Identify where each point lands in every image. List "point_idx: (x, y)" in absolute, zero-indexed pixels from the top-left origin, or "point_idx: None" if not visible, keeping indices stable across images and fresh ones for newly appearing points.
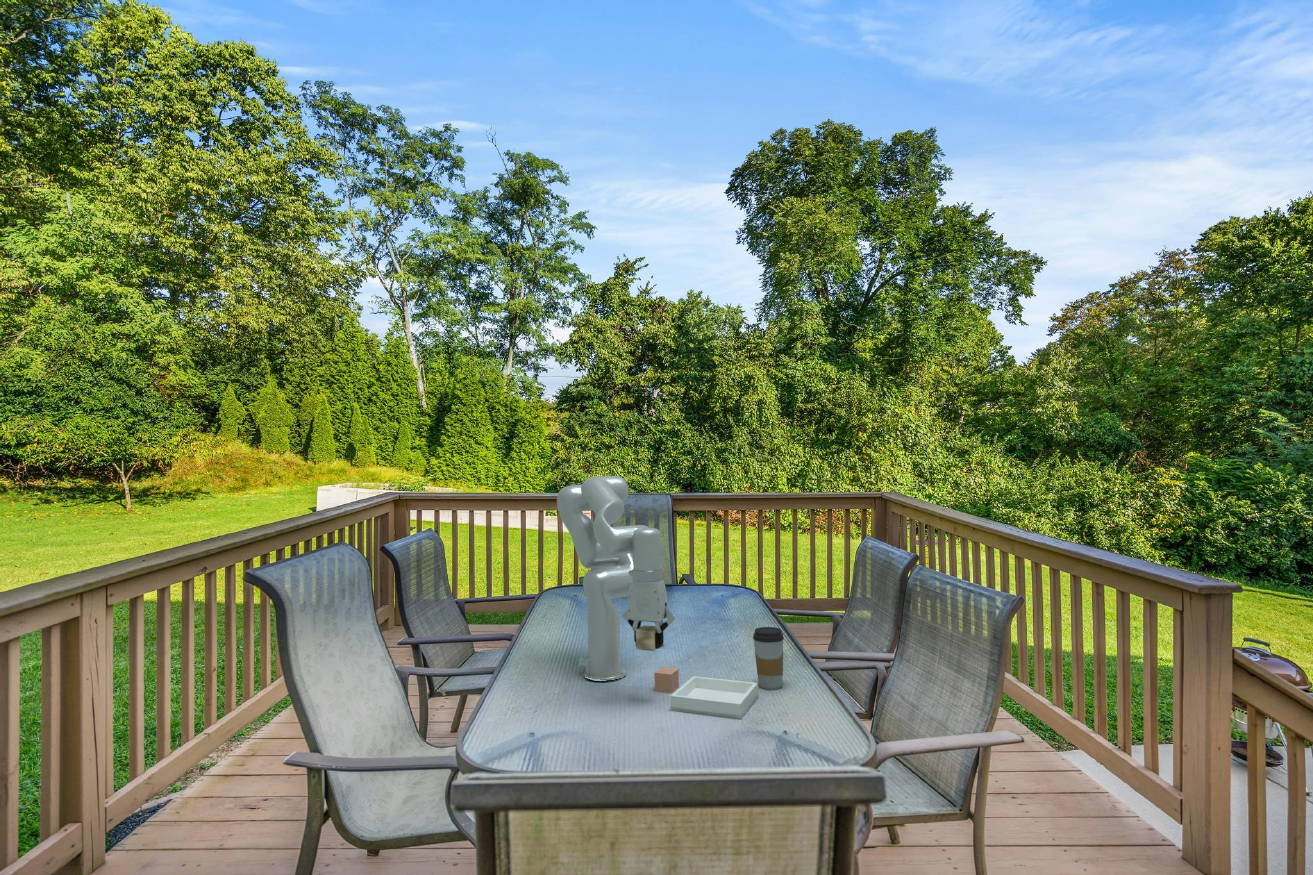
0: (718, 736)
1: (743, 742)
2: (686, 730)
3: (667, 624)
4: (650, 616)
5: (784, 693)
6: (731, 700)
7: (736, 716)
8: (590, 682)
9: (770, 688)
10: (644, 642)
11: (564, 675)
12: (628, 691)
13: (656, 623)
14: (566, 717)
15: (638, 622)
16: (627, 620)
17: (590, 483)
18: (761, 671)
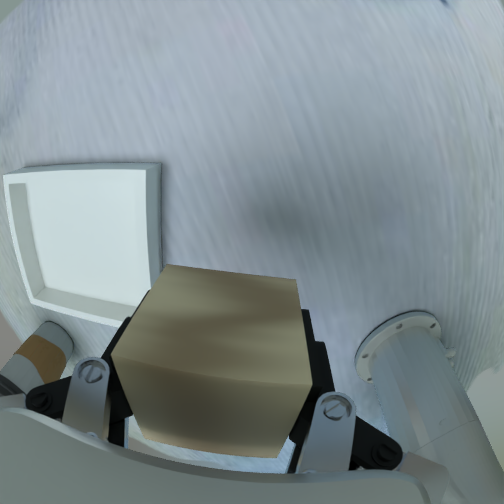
0: (38, 71)
1: (9, 74)
2: (92, 61)
3: (30, 400)
4: (66, 488)
5: (28, 306)
6: (57, 247)
7: (26, 167)
8: (425, 307)
9: (48, 322)
10: (225, 301)
11: (467, 325)
12: (329, 274)
13: (86, 426)
14: (427, 72)
15: (298, 461)
16: (406, 456)
17: None
18: (43, 344)
